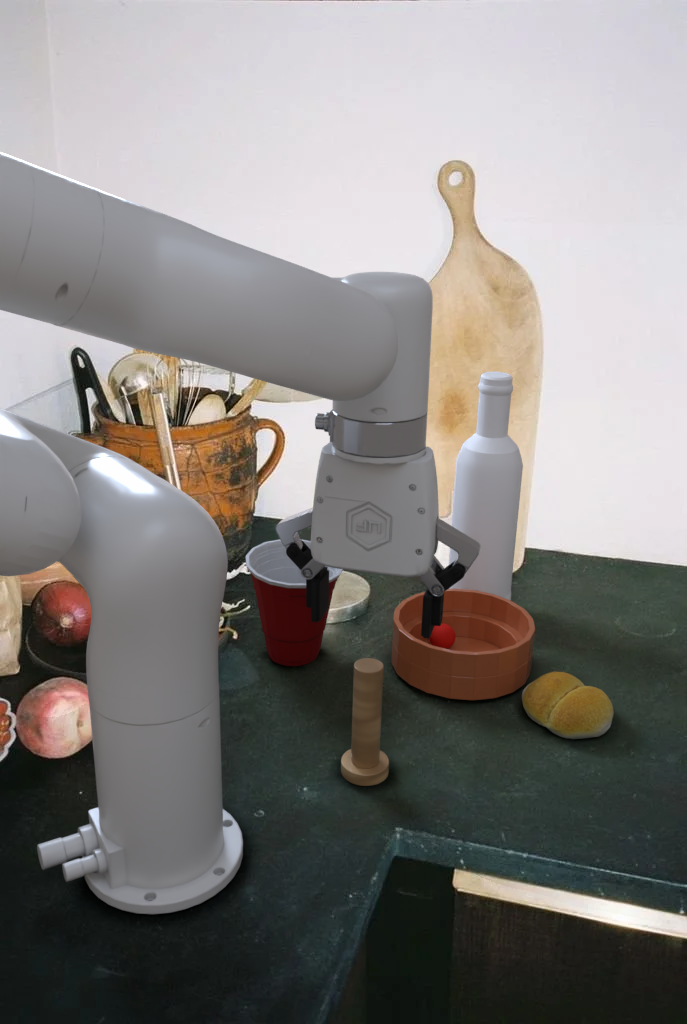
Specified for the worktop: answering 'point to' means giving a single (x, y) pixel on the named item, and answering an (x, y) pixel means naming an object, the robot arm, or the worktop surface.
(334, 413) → the robot arm
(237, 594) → the worktop surface
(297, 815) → the worktop surface
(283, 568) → the plastic cup
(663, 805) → the worktop surface
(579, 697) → the bread roll
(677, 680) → the worktop surface
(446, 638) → the tomato
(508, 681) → the bowl
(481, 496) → the bottle
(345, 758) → the muddler
